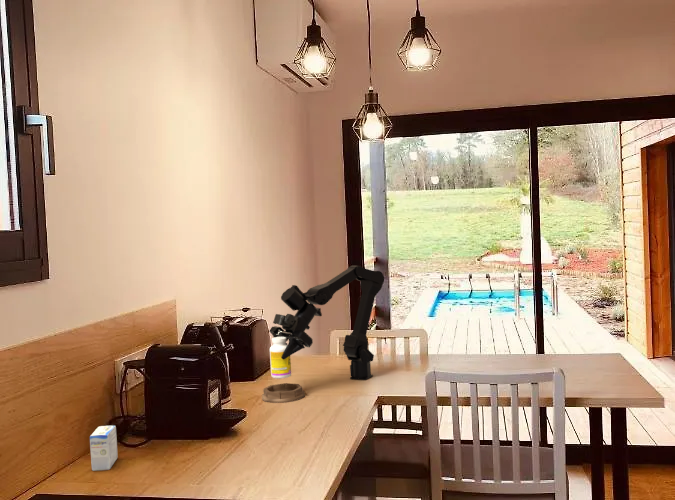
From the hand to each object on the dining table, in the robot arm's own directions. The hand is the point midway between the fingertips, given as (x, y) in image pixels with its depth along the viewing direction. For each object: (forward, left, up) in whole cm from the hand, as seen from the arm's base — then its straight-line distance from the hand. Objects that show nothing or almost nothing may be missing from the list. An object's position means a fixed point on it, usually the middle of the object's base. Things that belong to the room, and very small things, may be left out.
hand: (276, 357), depth 221 cm
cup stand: (-1, -1, -13) cm, 13 cm away
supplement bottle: (-1, -1, -7) cm, 7 cm away
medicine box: (+11, +66, -14) cm, 68 cm away
